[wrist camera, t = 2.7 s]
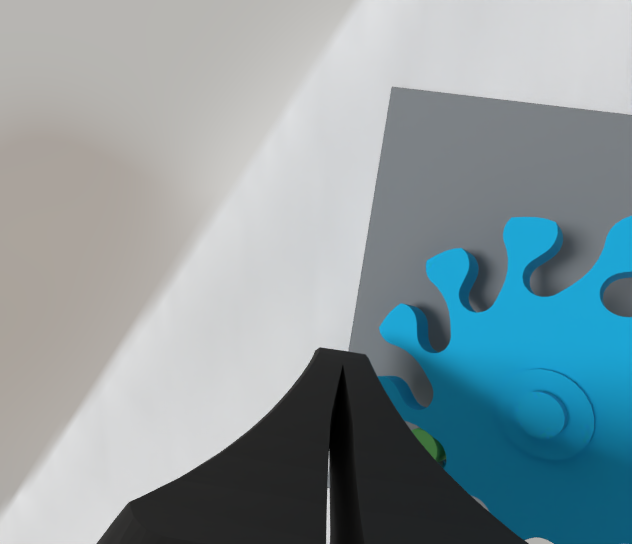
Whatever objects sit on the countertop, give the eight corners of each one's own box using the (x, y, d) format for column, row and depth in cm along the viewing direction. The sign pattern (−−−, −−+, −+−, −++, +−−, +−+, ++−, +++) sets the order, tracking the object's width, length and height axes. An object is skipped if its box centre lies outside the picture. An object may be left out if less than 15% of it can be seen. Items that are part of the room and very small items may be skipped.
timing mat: (1050, 166, 11) (1087, 168, 11) (771, 546, 17) (786, 561, 16) (390, 88, 12) (392, 86, 11) (327, 475, 17) (326, 488, 17)
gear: (601, 118, 10) (1194, 638, 5) (619, 197, 14) (938, 509, 9) (290, 352, 15) (434, 732, 10) (377, 356, 19) (505, 617, 14)
